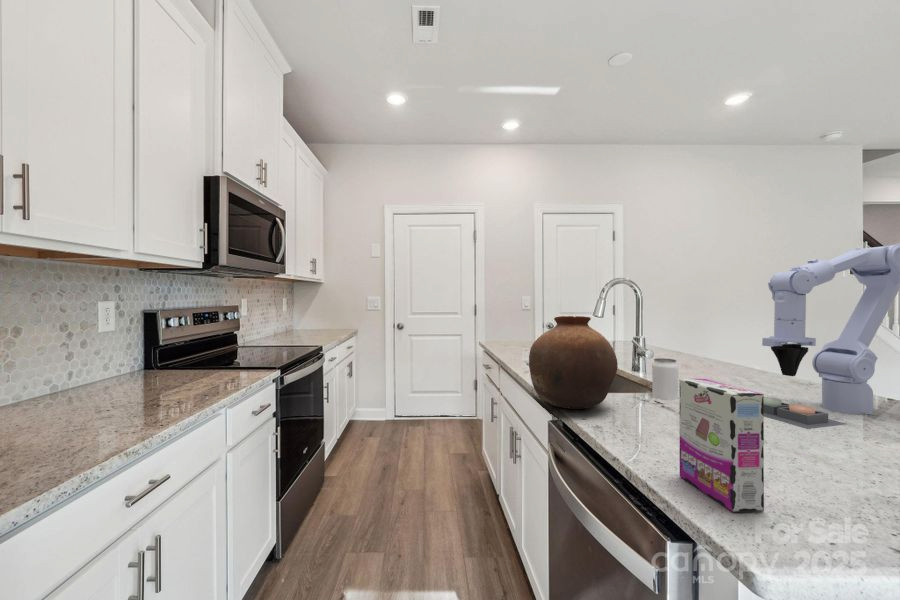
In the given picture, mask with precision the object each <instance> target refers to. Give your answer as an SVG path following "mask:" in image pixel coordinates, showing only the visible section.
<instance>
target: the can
mask: <svg viewBox="0 0 900 600" xmlns="http://www.w3.org/2000/svg"><path fill="white" fill-rule="evenodd" d="M651 365H652V366H651V367H652V368H651V371H652V373H651V374H652V375H651V378H652V379H651V380H652V382H651V383H652V384H651V385H652V391H651V392H652V397H654V398H656V399H661V400H668V401H669V400H670V401H672V400H678V399H680V389H679V365H678V363H677V360H676V359H672V358H663V357H662V358H660V357H659V358H658V357H657V358H653V363H652V364H651ZM653 401H654V402H655V403H656V404H661V405H664V403H663V402H660V401H657V400H653Z"/></svg>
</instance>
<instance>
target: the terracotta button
mask: <svg viewBox="0 0 900 600" xmlns="http://www.w3.org/2000/svg"><path fill="white" fill-rule="evenodd" d="M789 404H790V403H789ZM815 410H816V408H815V407H813V406H809V405H807V404H806V405H805V404H797V403H791V404H790V405H789V411H793V412H797V413H801V414H805V415H810V414H815Z"/></svg>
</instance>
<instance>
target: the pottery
mask: <svg viewBox="0 0 900 600" xmlns="http://www.w3.org/2000/svg"><path fill="white" fill-rule="evenodd" d="M591 319H592V317H591V316H583V315H582V316H581V315H575V316H574V315H558V316H554V318H553V320H554V321H555V323H556V324H555V326H553V327H552V328H551V329H549V330H547V331H545V332H544V333H542V334H541V335H540V336H538V337H537V339H536V340H535V341H534V342H533V343H532V345H531V347H530V350H529V354H528V366H529V374H530V375H529V376H530V379H531V383H532V384H531V385H533V389H534V391H535V393H536V395H538V396H539V398H540V400H542V401H544V402H546V403H547V404H550V405H551V406H555V407H558V408H563V409H573V410H575V409H576V410H579V409H580V410H582V409H589V408H592V407H595V406H598V405H600V404H601V403H602V402H604V401H605V400H606V398H607V396H608V394H609V391H610V389H611V387H612V384H613V382H614V379H615V378H616V375H617V372H618V369H619V368H618V364H619V363H618V359H617V355H616V352H615V350H614V349H613V347H612V344H611V343H610V342H609V340H608V339H607V338H606V337H605V336H604V335H603V334H601V333H600V332H598V331H597V330H596V329H594V328H592V327H591V326H590V325H589V322H590V321H591Z"/></svg>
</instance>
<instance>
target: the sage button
mask: <svg viewBox="0 0 900 600" xmlns="http://www.w3.org/2000/svg"><path fill="white" fill-rule="evenodd" d="M763 400H764V404H766V405H770V406H781V405H782V403H783V402H782V399H779V398H777V397H776V398H775V397H769V396H764V397H763Z"/></svg>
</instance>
